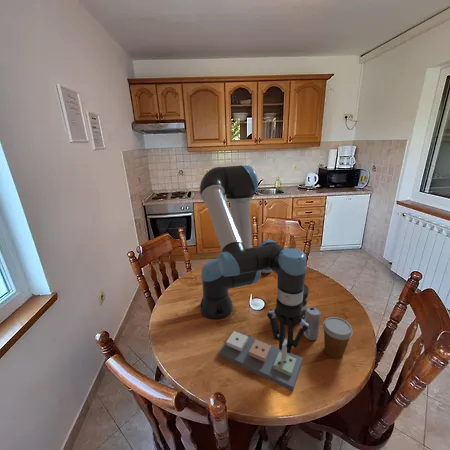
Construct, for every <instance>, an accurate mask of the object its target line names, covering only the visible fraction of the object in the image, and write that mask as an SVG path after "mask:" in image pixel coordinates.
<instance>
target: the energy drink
mask: <svg viewBox="0 0 450 450" xmlns="http://www.w3.org/2000/svg"><path fill="white" fill-rule="evenodd" d="M321 315H322V314H321V310H320V309H319V308H318V307H316V306H310V305H309V306H307V309H306V315H305V320H304V321H305V322H306V321H308V322H309V323H310V324H309V327H308V329H307V330H306V331H305V332H304V333H303V336H304V337H305V338H307V340H310V341H314V340H317V339H318V338H319V330H320V322H321Z"/></svg>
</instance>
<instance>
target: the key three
mask: <svg viewBox="0 0 450 450" xmlns="http://www.w3.org/2000/svg"><path fill="white" fill-rule="evenodd" d="M281 356H282V353H281V352H279V353H278V356H277V358H276V360H275V363H274V365H273V369H276V370H278V371H280V372H282V373H284V374H287V375H289V376H292V373H293V370H294V367H295V364H296V358H293V357H291V356H289V355H288V357H287V359H286V362H285V361H283V360H281Z"/></svg>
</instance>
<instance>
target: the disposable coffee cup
mask: <svg viewBox="0 0 450 450" xmlns="http://www.w3.org/2000/svg"><path fill="white" fill-rule="evenodd" d="M322 329H323V334H324V335H323V337H324V339H323V343H324V344H323V345H324V352H325V354H326V355H328V357H330V358H332V359H336V360H339V359H342V358H343V356H344V354H345V352H346V349H347V346H348V343H349V341H350V339H351V337H352V336H353V334H354V333H353V329H352V326H351V324H350V323H349V322H348V321H347V320H346V319H345V320H344V318H340V317H337V316H330V317H327V318H325V320H324V321H323V323H322Z"/></svg>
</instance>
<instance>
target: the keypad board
mask: <svg viewBox="0 0 450 450" xmlns="http://www.w3.org/2000/svg"><path fill="white" fill-rule="evenodd" d="M234 331H236V332H238V333H241V334H243V335H245V336H248V341H247V343H246V344H245V346H244V348H243V349H242V351H239V350H236V349H234V348H232V347H230V346H227V345H226V342H225V343H224V344H223V345H222V347H221V348H220V349H219V351H218V356H219V357H220V358H222V359H224V360H226V361H228V362H230V363H232V364H233V365H237V366H239V367H241V368H243V369H244V370H247V371H248V372H250V373H253V374H255V375H258V376H260V377H261V378H264V379H265V380H268V381H269V382H272V383H274V384H276V385H278V386H280V387H283V388H284V389H285V390H289V391H290V392H294V390H295V386H296V383H297V380H298V378H299V377H298V376H299V374H300V371H301V368H302V364H303V357H302V356H299V355H298V354H294V353H288V355H289V356H291V357H293V358H296V364H295V367H294V370H293V373H292V376H289V375H287V374H284V373H282V372H280V371H278V370H276V369H273V365H274V363H275V360H276V358H277V356H278V353H279V352H281V353H282V350H280V349H279V347H276V346H275V345H271V344H269V343H268V342H264V341H262V340H259V339H257V338H254V337H252V336H249V335H247V334H244V333H242V332H241V331H240V332H239V331H237V330H233V332H234ZM231 335H232V333H231V334H230V336H231ZM255 340H258V341H260V342H263V343H265V344H268V345H270V346H271V351H270V353H269V355H268V357H267V359H266V361H265V362H263V361H261V360H259V359H257V358H254V357H252V356H250V355H249V350H250V348H251V347H252V345H253V343H254V342H255Z"/></svg>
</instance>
